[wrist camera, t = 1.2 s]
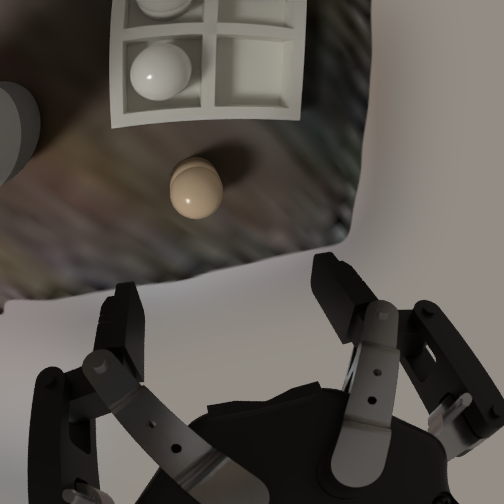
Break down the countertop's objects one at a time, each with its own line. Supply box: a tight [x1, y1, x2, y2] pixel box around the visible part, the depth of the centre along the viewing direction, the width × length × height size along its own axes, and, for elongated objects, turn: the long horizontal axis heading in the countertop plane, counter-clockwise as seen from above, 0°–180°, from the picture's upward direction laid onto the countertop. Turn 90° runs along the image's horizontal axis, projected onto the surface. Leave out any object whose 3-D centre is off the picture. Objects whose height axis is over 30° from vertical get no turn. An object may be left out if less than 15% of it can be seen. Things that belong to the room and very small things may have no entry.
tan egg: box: [170, 157, 223, 219], centre depth 24 cm, size 4×4×6 cm
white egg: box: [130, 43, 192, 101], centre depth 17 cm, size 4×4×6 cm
